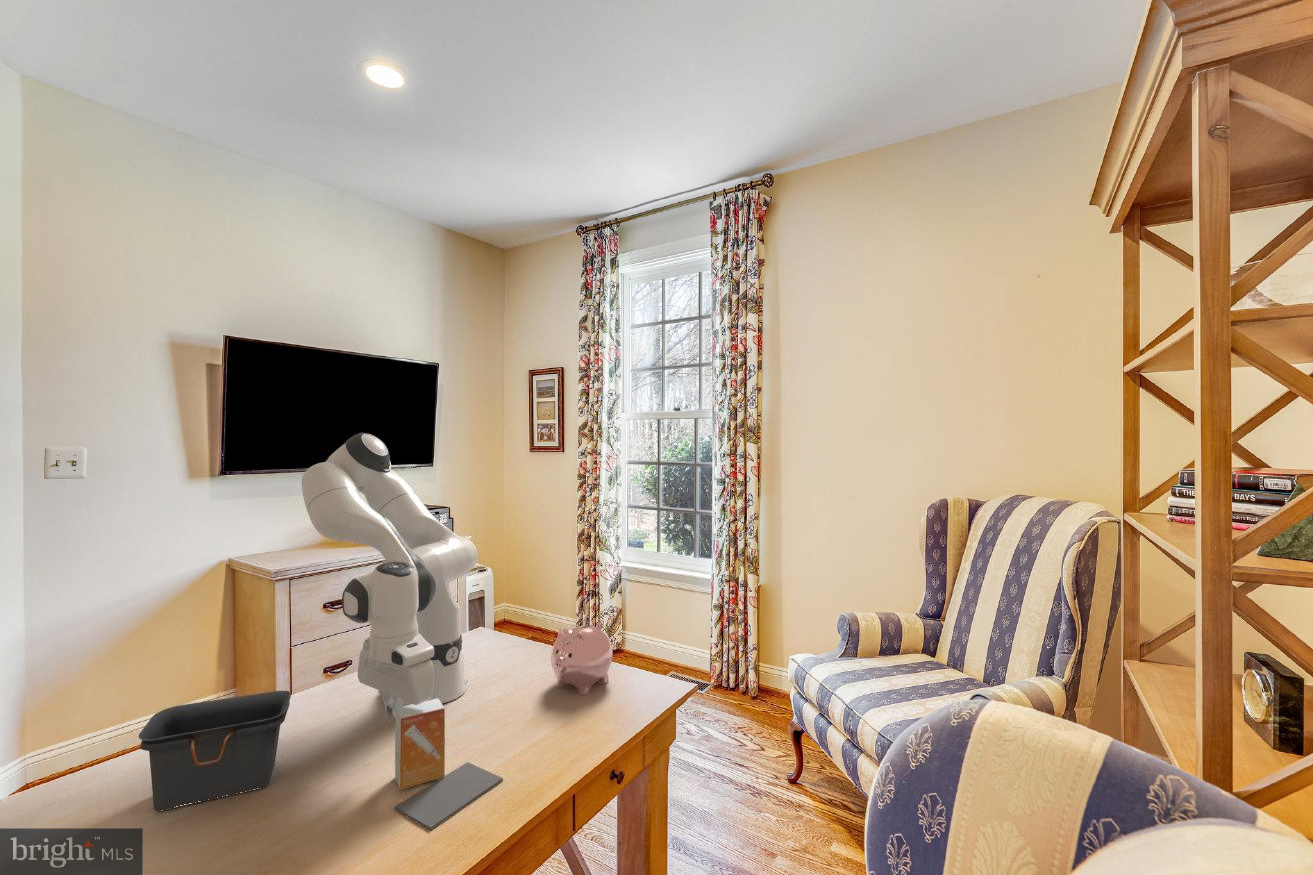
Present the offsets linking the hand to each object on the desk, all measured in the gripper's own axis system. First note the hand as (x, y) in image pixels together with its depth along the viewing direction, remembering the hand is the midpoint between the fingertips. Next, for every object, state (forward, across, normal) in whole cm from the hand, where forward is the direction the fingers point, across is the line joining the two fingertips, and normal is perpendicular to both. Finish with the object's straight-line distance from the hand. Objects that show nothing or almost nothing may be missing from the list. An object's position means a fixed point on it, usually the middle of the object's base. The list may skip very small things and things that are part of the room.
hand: (393, 713), depth 110 cm
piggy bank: (+10, +8, +49) cm, 51 cm away
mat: (+10, +18, 0) cm, 20 cm away
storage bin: (+10, -19, -22) cm, 31 cm away
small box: (+10, +9, 0) cm, 13 cm away
